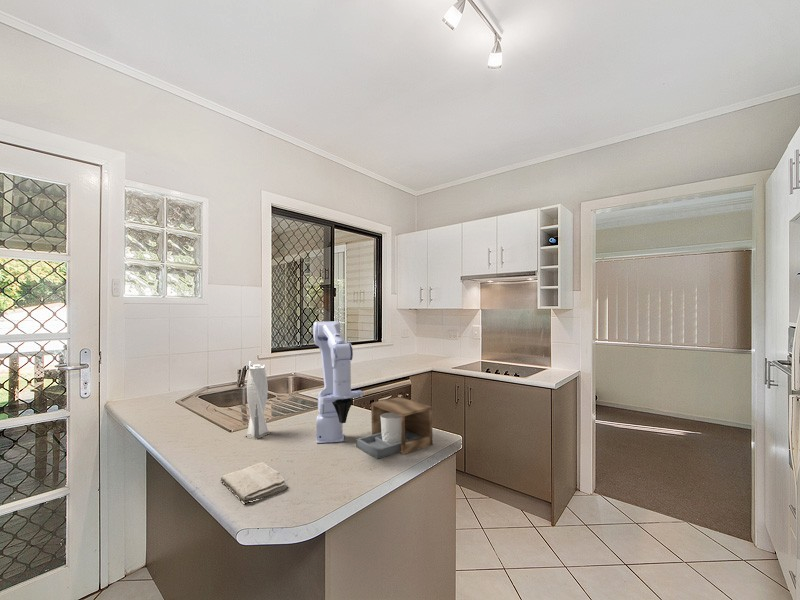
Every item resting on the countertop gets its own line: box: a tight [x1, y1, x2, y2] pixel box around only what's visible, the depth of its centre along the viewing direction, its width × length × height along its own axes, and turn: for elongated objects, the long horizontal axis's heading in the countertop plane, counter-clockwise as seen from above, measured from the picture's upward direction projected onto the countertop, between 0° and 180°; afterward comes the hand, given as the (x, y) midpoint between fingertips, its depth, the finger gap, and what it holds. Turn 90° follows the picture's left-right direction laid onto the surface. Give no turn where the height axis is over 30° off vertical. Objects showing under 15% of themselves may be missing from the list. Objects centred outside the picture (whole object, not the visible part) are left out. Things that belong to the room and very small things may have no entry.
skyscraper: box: [245, 360, 272, 440], centre depth 136 cm, size 8×8×28 cm
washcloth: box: [220, 461, 287, 504], centre depth 96 cm, size 12×18×3 cm, turn 45°
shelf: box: [370, 396, 434, 455], centre depth 126 cm, size 13×18×13 cm
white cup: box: [380, 412, 402, 444], centre depth 124 cm, size 8×8×10 cm
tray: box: [355, 430, 422, 460], centre depth 123 cm, size 19×13×3 cm
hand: (342, 422), depth 116 cm, fingers closed
